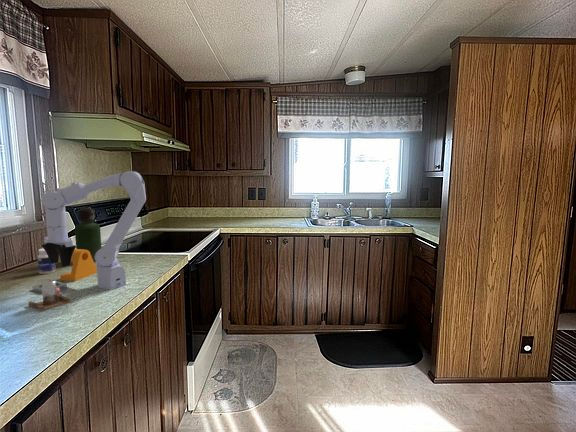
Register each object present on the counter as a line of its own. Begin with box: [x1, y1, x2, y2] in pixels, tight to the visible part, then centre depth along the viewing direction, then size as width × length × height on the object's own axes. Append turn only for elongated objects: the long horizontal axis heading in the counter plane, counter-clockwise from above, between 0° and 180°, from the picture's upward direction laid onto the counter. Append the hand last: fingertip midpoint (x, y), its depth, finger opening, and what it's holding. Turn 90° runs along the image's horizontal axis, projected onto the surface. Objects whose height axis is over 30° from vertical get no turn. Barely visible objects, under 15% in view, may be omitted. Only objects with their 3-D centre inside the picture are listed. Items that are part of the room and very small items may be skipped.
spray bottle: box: [74, 207, 102, 262], centre depth 155 cm, size 10×10×25 cm
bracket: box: [59, 248, 97, 282], centre depth 129 cm, size 11×7×12 cm, turn 169°
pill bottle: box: [37, 247, 56, 275], centre depth 137 cm, size 6×6×10 cm
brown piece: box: [27, 294, 71, 312], centre depth 102 cm, size 8×8×2 cm
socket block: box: [31, 280, 77, 296], centre depth 114 cm, size 14×8×2 cm, turn 61°
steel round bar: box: [41, 279, 57, 305], centre depth 101 cm, size 4×4×7 cm
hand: (60, 264), depth 114 cm, fingers open, 7 cm apart
